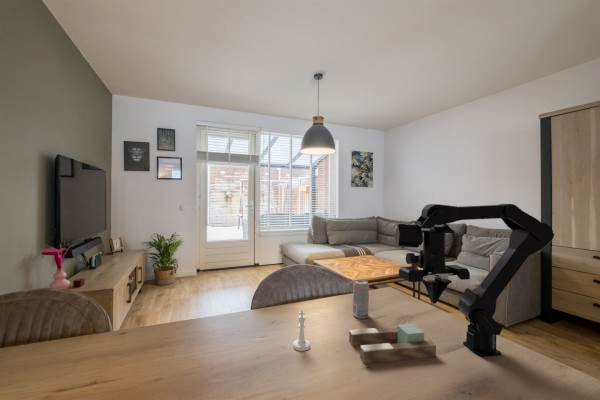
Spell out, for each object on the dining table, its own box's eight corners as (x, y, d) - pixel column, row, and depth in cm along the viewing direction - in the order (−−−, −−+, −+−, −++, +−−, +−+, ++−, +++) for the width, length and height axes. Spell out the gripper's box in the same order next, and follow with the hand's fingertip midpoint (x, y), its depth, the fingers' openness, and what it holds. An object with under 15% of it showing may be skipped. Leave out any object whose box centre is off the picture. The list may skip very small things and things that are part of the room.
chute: (412, 336, 80) (412, 325, 80) (435, 356, 70) (436, 344, 70) (349, 341, 77) (349, 330, 77) (363, 363, 66) (364, 350, 66)
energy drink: (367, 312, 96) (367, 279, 96) (369, 319, 91) (369, 284, 91) (352, 312, 97) (352, 279, 97) (353, 318, 92) (354, 283, 92)
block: (413, 341, 77) (413, 324, 77) (424, 350, 72) (424, 332, 72) (397, 342, 76) (397, 325, 76) (407, 352, 71) (407, 333, 71)
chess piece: (308, 352, 71) (309, 314, 71) (290, 349, 72) (291, 313, 72) (311, 342, 76) (312, 307, 76) (294, 340, 77) (295, 306, 77)
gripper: (443, 243, 85) (443, 291, 85) (389, 244, 82) (388, 294, 82) (471, 249, 74) (471, 305, 74) (410, 251, 71) (409, 309, 71)
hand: (433, 303), depth 75 cm, fingers closed
